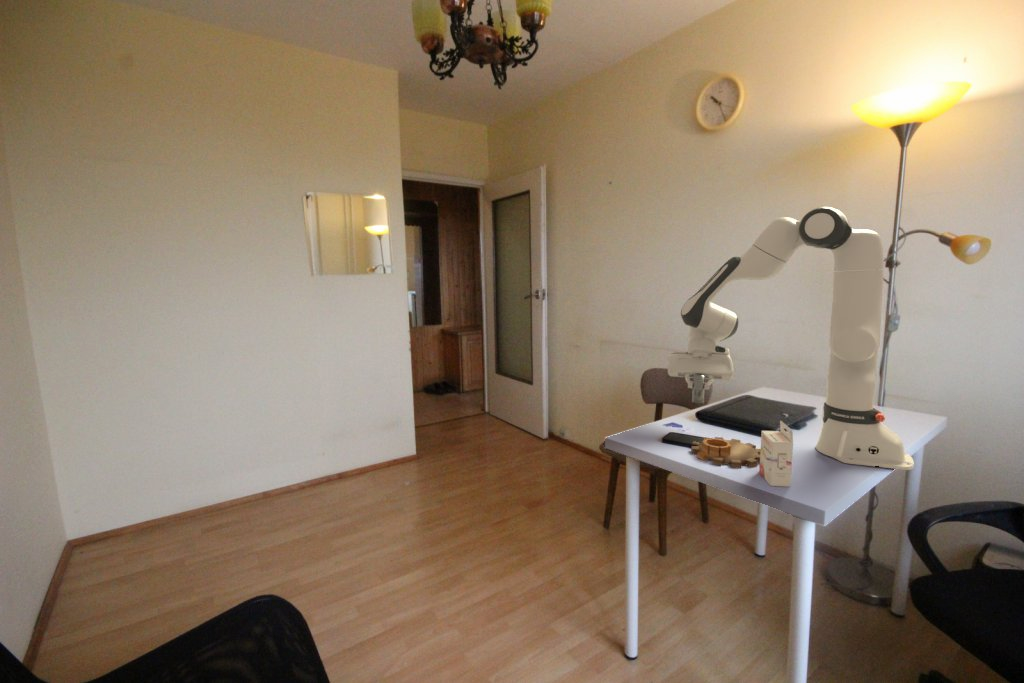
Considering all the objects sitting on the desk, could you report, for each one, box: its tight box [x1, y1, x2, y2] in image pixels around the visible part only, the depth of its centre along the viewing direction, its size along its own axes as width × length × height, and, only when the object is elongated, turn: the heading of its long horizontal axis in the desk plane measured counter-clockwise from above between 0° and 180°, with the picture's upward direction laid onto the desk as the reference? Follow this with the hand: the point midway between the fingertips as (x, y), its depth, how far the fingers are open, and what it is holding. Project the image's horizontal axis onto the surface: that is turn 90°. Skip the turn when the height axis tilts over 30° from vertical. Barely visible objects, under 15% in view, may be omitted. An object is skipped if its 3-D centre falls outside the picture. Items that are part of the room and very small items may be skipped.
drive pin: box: [691, 374, 706, 404], centre depth 150 cm, size 4×4×9 cm
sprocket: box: [690, 436, 761, 469], centre depth 136 cm, size 20×20×4 cm
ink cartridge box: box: [758, 420, 794, 487], centre depth 118 cm, size 9×5×15 cm, turn 170°
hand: (698, 387), depth 149 cm, fingers closed on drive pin, 4 cm apart
